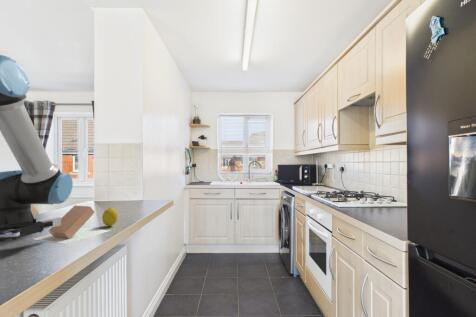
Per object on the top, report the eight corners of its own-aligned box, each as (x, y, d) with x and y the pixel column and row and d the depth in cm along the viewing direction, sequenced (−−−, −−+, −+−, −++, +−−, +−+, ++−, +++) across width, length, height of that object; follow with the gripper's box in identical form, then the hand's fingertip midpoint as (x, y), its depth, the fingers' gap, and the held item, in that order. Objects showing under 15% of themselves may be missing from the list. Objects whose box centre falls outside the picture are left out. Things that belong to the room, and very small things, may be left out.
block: (48, 231, 87) (74, 205, 96) (54, 237, 89) (79, 211, 98) (64, 233, 84) (90, 206, 93) (70, 239, 86) (95, 212, 95)
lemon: (113, 228, 101) (113, 208, 101) (99, 228, 101) (99, 208, 101) (119, 225, 106) (120, 206, 107) (106, 225, 107) (107, 206, 107)
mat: (31, 239, 86) (31, 239, 86) (80, 227, 102) (80, 227, 102) (65, 245, 80) (65, 244, 80) (111, 231, 97) (111, 230, 97)
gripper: (-49, 252, 66) (46, 230, 88) (-20, 258, 61) (73, 233, 84) (-48, 223, 66) (46, 208, 88) (-19, 227, 62) (73, 211, 84)
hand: (59, 221), depth 86 cm, fingers closed
